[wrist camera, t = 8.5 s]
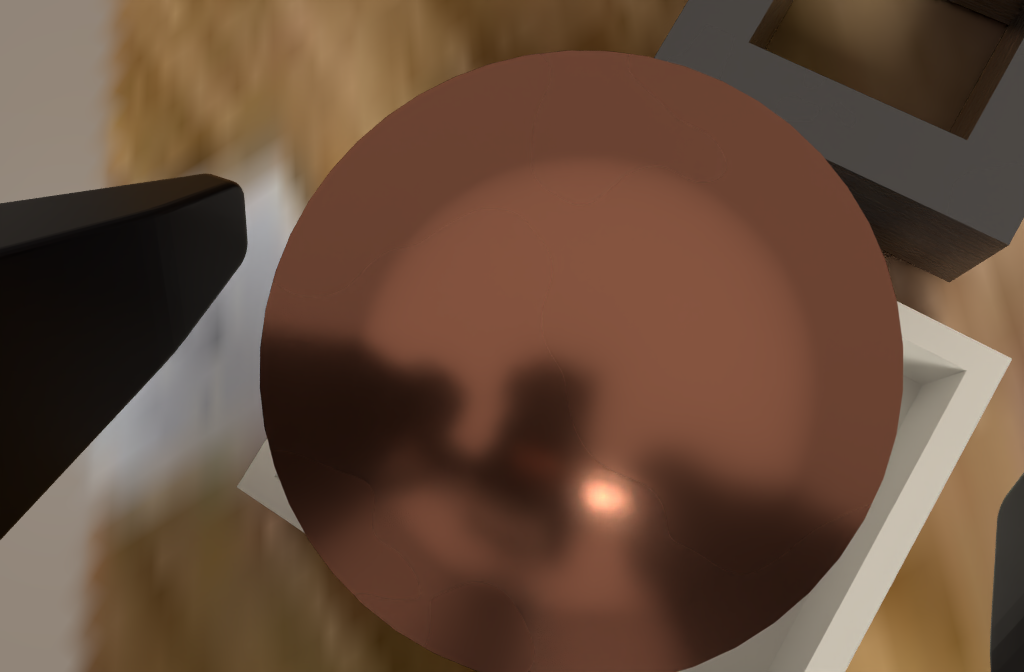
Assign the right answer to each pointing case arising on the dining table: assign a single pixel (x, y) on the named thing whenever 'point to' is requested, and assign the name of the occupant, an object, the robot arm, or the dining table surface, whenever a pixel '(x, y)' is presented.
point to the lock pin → (581, 366)
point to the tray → (888, 524)
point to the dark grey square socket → (885, 133)
